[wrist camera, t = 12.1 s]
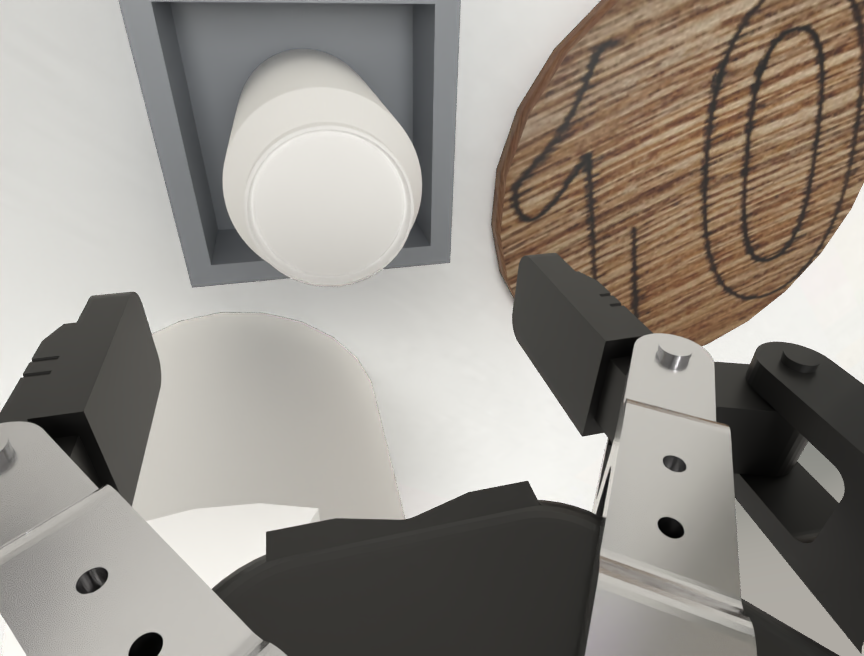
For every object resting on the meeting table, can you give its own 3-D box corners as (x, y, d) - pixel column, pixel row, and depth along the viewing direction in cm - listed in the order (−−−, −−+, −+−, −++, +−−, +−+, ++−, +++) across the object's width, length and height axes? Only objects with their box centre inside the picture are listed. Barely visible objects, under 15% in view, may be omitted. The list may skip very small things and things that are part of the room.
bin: (203, 241, 28) (192, 287, 24) (139, -34, 22) (109, -35, 18) (426, 224, 31) (449, 262, 27) (429, -28, 24) (461, -27, 20)
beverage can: (226, 45, 23) (195, 102, 13) (371, 44, 24) (438, 96, 15) (250, 188, 26) (238, 315, 17) (376, 180, 28) (433, 295, 18)
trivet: (541, 398, 42) (552, 415, 40) (429, 66, 27) (438, 72, 25) (840, 261, 41) (862, 272, 40) (891, -149, 27) (929, -156, 25)
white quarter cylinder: (422, 364, 36) (673, 1017, 14) (311, 530, 43) (357, 1166, 20) (147, 266, 28) (-337, 1445, 6) (59, 488, 35) (-336, 1470, 12)
